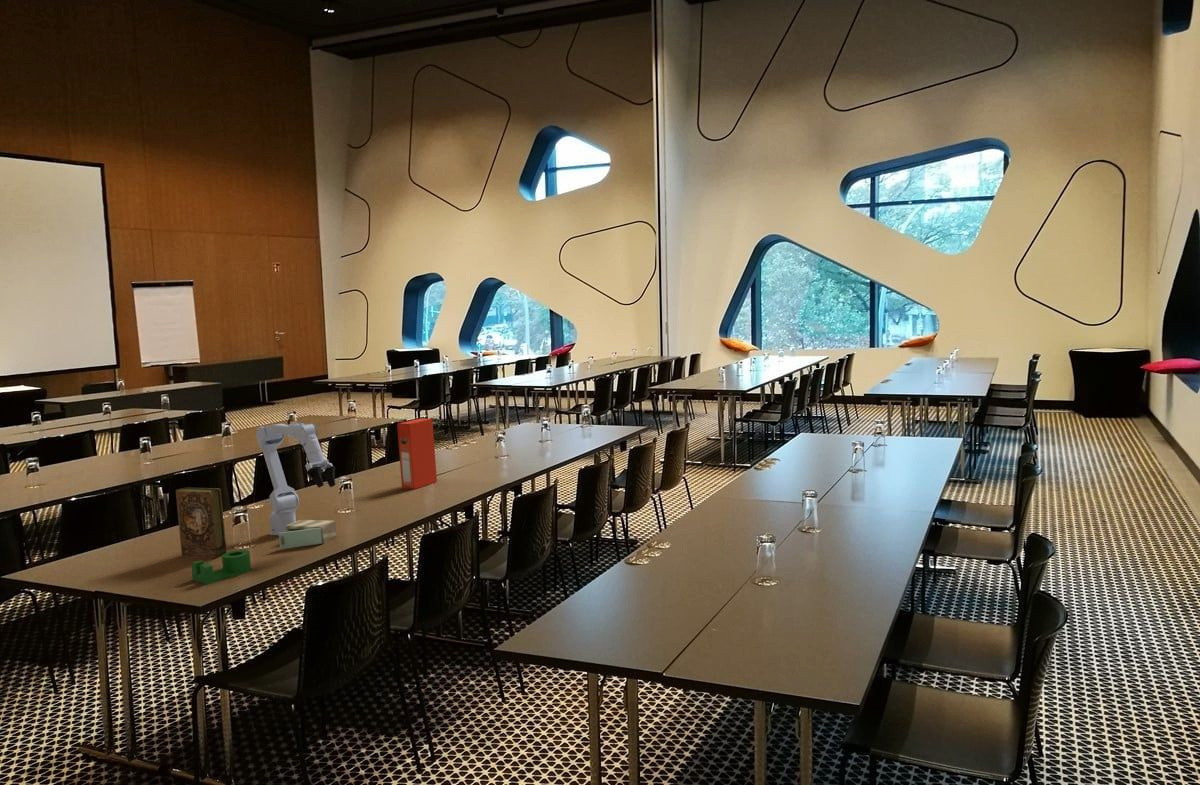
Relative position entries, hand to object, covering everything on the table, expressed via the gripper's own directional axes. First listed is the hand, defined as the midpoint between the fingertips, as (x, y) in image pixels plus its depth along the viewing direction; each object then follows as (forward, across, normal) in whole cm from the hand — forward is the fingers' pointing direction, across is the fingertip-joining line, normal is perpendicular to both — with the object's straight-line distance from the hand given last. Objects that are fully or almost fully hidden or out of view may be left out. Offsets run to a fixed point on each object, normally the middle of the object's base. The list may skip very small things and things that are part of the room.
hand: (327, 486), depth 334 cm
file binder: (-5, +102, +16) cm, 104 cm away
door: (+16, -1, +18) cm, 25 cm away
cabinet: (+14, +9, +20) cm, 26 cm away
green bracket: (+20, -34, +28) cm, 48 cm away
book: (+6, -16, +48) cm, 51 cm away
